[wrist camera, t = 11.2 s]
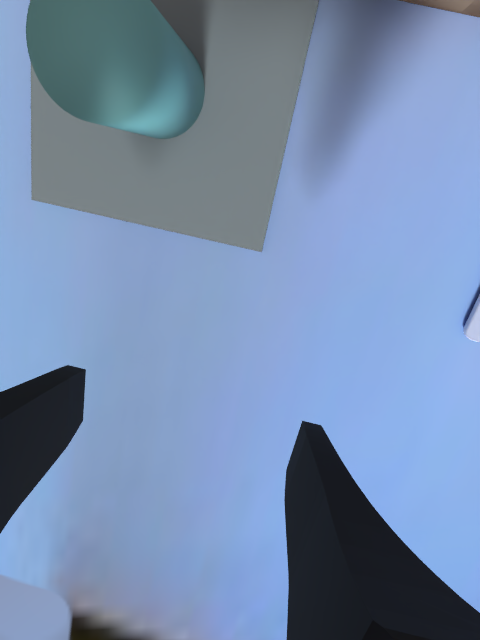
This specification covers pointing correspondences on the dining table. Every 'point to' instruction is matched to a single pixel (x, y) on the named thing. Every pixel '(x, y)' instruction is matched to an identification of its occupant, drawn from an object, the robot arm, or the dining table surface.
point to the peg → (115, 65)
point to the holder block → (452, 5)
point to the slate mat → (190, 130)
